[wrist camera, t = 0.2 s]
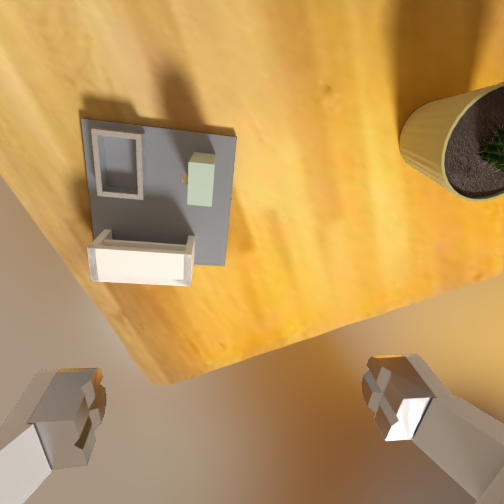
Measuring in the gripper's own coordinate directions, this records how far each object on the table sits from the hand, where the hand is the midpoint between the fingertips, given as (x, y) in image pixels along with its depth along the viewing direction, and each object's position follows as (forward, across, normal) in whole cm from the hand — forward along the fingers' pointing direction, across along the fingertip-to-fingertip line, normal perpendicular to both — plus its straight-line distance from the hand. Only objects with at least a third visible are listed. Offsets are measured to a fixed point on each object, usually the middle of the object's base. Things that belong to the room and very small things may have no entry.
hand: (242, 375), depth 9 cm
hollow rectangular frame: (+47, +15, +3) cm, 49 cm away
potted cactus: (+47, -38, -4) cm, 60 cm away
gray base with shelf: (+48, +9, +9) cm, 49 cm away
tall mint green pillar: (+46, +2, +4) cm, 46 cm away
